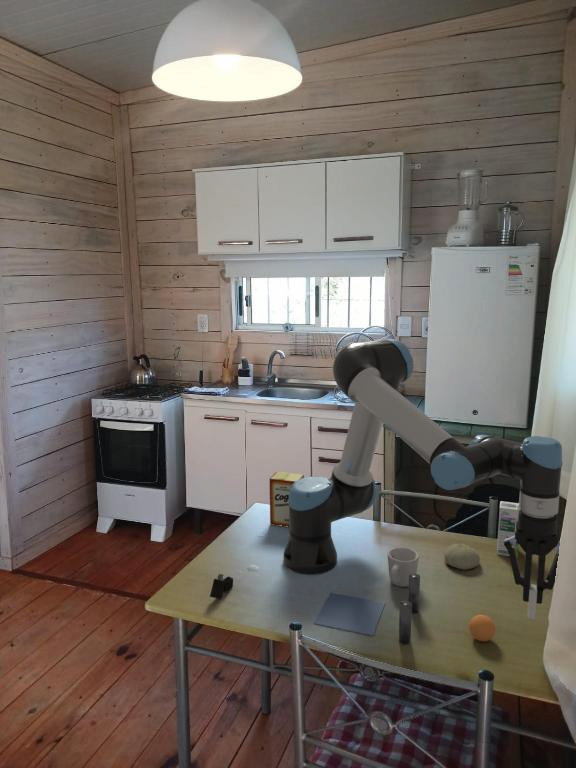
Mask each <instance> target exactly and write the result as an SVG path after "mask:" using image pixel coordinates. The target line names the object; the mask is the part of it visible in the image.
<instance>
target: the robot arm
mask: <svg viewBox="0 0 576 768" xmlns="http://www.w3.org/2000/svg"><path fill="white" fill-rule="evenodd" d="M413 371H414V359H413V355H412V354H411V351H410V349H409V348H408V346H407V345H406V344H405V343H404V342H402V340H401V341H400V340H398V339H395V338H389V339H388V338H382V339H380V340H371V341H363V342H353V343H351V344H350V343H349V344H347V345H346V346H344V347H343V348H342V349H341V350H339V352H338V353H337V354H336V357H335V358H334V361H333V365H332V373H333V378H334V381H335V383H336V385H337V386H338V388H339V390H340V391H341V392H342V394H344V395H345V396H346V397H347V398H348V399H349V400H350V401H352V402H353V403H354V406H353V408H352V409H353V410H352V412H351V413H352V414H351V419H350V423H349V426H348V429H347V434H346V437H345V441H344V445H343V450H342V453H341V457H340V462H338V463H336V464H334V465H333V467H332V471H331V476H330V478H329V479H328V478H327V477H324V476H320V475H313V476H306V477H305V476H304V478H302V479H299V480H297V481H296V482H294V483H293V484H292V486H291V488H290V491H289V500H288V503H289V527H288V528H289V529H288V530H289V531H288V533H289V535H288V539H287V542H286V545H285V547H284V550H283V565H284V566H285V567H286V569H288V570H290V571H291V572H294V573H298V574H302V575H320V574H324V573H327V572H330V571H332V570H333V569H334V568H336V566H337V565H338V553H337V549H336V545H335V543H334V541H333V538H332V523H333V522H336V521H339V520H342V519H346V518H348V517H352V516H355V515H358V514H362V513H363V512H365V511H366V510H368V509H371V507H373V505H374V504H375V502H376V500H377V493H378V489H377V487H376V485H377V484H376V483H377V482H376V481H375V479H374V476H373V473H372V472H371V466H372V464H373V460H374V456H375V452H376V449H377V445H378V442H379V438H380V435H381V431H382V428H383V424H384V425H386V426H387V428H389V429H390V430H391V431H392V432H393V433H394V434H395V435H396V436H398V437H399V438H400V439H401V440H402V441H403V442H404V443H406V445H408V446H409V447H410V448H411V449H412V450H414V451H415V453H417V454H418V455H420V457H421V458H423V459H424V460H425V461H426V462H427V463H428V464H429V465H430V474H431V477H432V478H433V480H434V483H435V484H436V485H437V486H438V487H440V488H441V489H444V490H447V491H454V490H457V489H463V488H466V487H468V486H470V485H472V484H476V483H477V482H480V481H484V480H487V479H489V478H493V477H495V476H499V475H502V476H504V477H508V478H512V479H516V480H519V482H520V483H519V498H518V499H519V500H518V503H519V508H520V510H519V515H518V529H517V531H516V532H515V535H514V536H512V537H510V538H509V537H505V538H504V546H505V547H506V549H507V550H508V552H509V556H508V557H509V560H510V565H511V569H512V570H511V571H512V574H513V579H514V584H516V585H517V586H519V585H520V586H521V587H522V600H523V602H526V603H527V610H526V611H527V612H526V613H527V619H530V620H531V619H532V620H536V616H537V615H536V613H537V604H539V605H541V604H542V603H543V595H544V591H545V590H552V589H553V588H554V586H555V582H556V581H555V576H556V568H557V561H558V556H559V546H560V542H561V541H560V540H559V536H558V534H557V533H558V532H557V531H558V519H559V516H558V513H559V507H560V506H559V505H560V503H559V502H560V487H561V485H560V484H561V478H562V477H561V476H562V467H563V445H562V444H561V442H560V441H559V440H557V439H556V438H553V437H548V436H538V435H537V436H536V435H535V436H534V435H532V436H528V437H525V438H524V440H523V441H522V443H520V442H517V441H513V440H510V439H505V438H500V437H499V436H495V435H488V434H478V435H476V436H474V439H472V440H471V441H469V442H470V443H469V445H468V446H464V444H462V443H461V442H459V440H458V439H455V438H454V437H453V436H452V435H451V434H450V433H449V432H447V431H446V430H445V429H444V428H443V427H441V426H440V425H439V424H438V423H437V422H435V421H434V420H433V419H431V418H430V417H429V416H428V415H426V414H425V412H423V411H421V409H419V408H418V407H417V406H416V405H414V404H413V403H412V402H411V400H409V399H407V398H406V397H404V396H403V395H402V394H401V393H400V392H399V389H400V385H401V383H404V382H406V381H407V380H409V379H410V378H411V376H412V375H413ZM516 541H517V542H518V543H519V546H520V548H521V550H522V551H523V553H524V554H525V556H524V571H523V572H524V573H523V576H521V571H520V567H519V566H520V565H519V561H518V557H517V556H516V551H515V547H516ZM554 549H555V551H556V553H555V556H554V558H553V561H552V564H551V566H550V569H549V571H548V575H547V578H546V579H545V572H546V571H545V569H546V568H545V567H546V557H547V555H548V554H550V552H552V551H553V550H554ZM535 555H536V556H538V557H537V569H536V570H537V571H536V573H537V574H536V584H532V583H531V576H532V562H533V561H532V559H533V556H535Z"/></svg>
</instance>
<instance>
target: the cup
mask: <svg viewBox="0 0 576 768" xmlns="http://www.w3.org/2000/svg"><path fill="white" fill-rule="evenodd" d="M419 559H420V556H419V554H418V552H417V551H416V550H414V549H411V548H408V547H403V546H402V547H400V546H399V547H395V548H394V547H393V548H391V549H390V550H389V551H388V552H387V563H388V564H387V565H388V575H389V576H388V577H389V580H390V582H391V583H392V584H393V585H394V586H397V587H399V588H409V575H410V574H412V573H415V574H418V573H417V572H418V565H419Z"/></svg>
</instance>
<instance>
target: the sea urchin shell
mask: <svg viewBox="0 0 576 768" xmlns="http://www.w3.org/2000/svg"><path fill="white" fill-rule="evenodd" d="M443 554H444V556H443V558H444V561H445V563H446V564H447V565H449V566H451V568H456V569H460V570H464V571H466V570H471V569H474V568H476V567H477V566H478V565H479V564H480V560H481V558H480V555H479V553H478V552H477V551H476V549H474V548H473V547H472V546H470V545H468V544H466V543H465V544H464V543H453V544H451V545H449V546H448V547H447V548H446V550H445V552H444V553H443Z"/></svg>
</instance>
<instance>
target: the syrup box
mask: <svg viewBox="0 0 576 768" xmlns="http://www.w3.org/2000/svg"><path fill="white" fill-rule="evenodd" d="M519 510H520V508H519V502H510V501H502V500H501V501H499V511H498V512H499V514H498V516H499V517H498V531H497V543H496V544H497V545H496V555H498V556H505V557H510V556H509V552H508V550H507V549H506V547H505V546H504V538H505V537H509V538H510V537H512V536H514V535H515V532H516V531H517V529H518V515H519ZM519 546H520V545H519V543H518V542H517V541H516V547H515V551H516V556H517V558H518V557H519Z"/></svg>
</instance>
